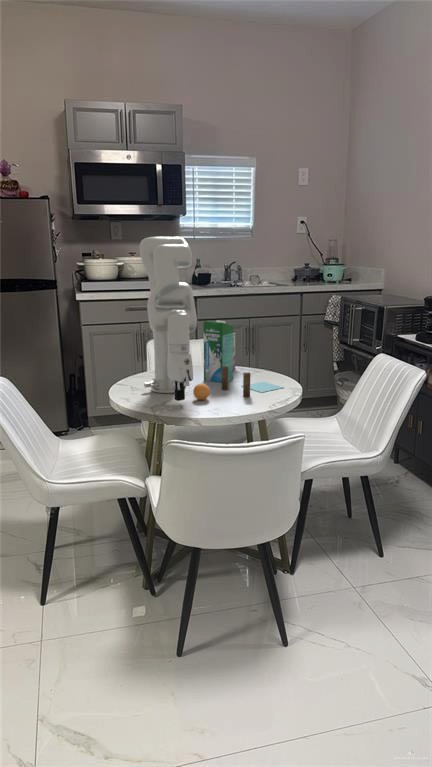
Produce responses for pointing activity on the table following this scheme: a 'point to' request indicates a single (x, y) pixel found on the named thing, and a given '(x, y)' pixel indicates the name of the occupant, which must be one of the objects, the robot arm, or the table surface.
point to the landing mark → (264, 387)
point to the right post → (246, 384)
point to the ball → (201, 391)
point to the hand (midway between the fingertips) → (179, 399)
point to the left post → (224, 377)
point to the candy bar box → (233, 351)
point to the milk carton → (217, 350)
